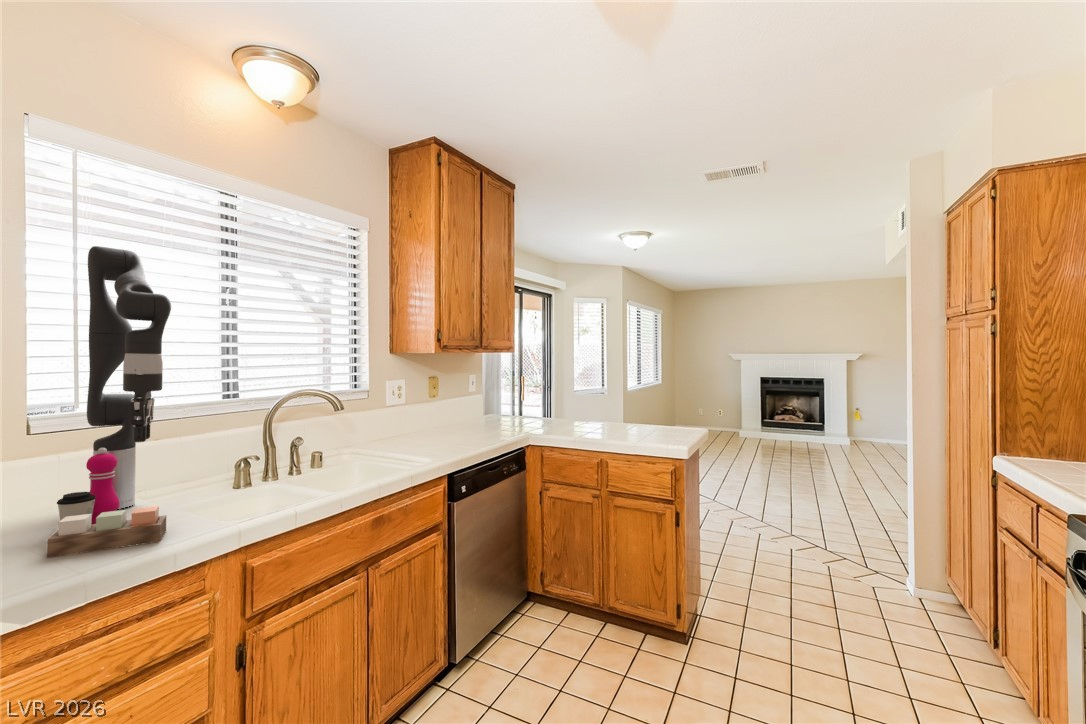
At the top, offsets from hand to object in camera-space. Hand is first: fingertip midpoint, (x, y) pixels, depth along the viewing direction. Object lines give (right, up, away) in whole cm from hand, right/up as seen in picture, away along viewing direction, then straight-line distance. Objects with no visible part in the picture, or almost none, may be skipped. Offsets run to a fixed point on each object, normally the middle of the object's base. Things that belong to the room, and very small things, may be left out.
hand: (142, 440), depth 118 cm
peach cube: (+4, -21, -4) cm, 22 cm away
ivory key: (-7, -21, -10) cm, 24 cm away
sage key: (-1, -21, -7) cm, 22 cm away
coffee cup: (-15, -23, -2) cm, 28 cm away
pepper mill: (-16, -23, +7) cm, 29 cm away
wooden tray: (-1, -23, -7) cm, 24 cm away
